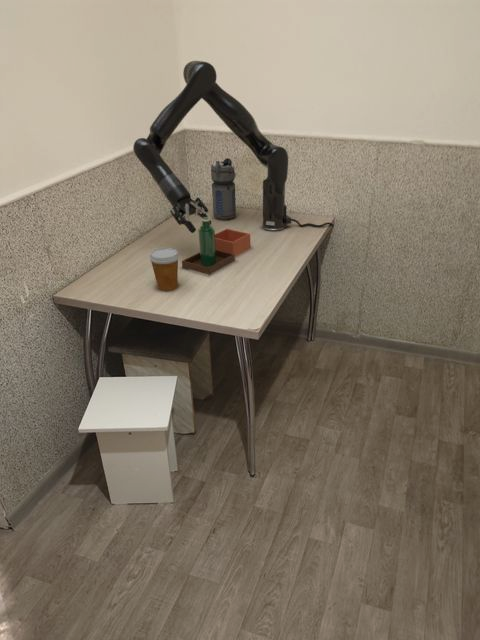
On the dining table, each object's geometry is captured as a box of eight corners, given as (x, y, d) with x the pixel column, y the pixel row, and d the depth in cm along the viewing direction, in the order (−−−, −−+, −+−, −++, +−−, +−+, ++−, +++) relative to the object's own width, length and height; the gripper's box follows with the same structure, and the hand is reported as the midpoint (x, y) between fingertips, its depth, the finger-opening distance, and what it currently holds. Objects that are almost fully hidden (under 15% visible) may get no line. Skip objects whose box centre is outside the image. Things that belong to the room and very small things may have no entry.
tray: (208, 254, 192) (208, 247, 191) (235, 261, 187) (234, 254, 185) (182, 268, 182) (181, 261, 180) (209, 275, 176) (208, 268, 175)
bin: (227, 242, 203) (226, 228, 200) (250, 248, 198) (250, 233, 194) (209, 251, 195) (208, 236, 192) (233, 257, 190) (233, 242, 186)
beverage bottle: (241, 213, 234) (240, 156, 221) (229, 222, 224) (227, 163, 210) (221, 211, 237) (219, 154, 224) (208, 219, 227) (205, 161, 213)
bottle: (213, 259, 187) (210, 215, 178) (218, 264, 183) (216, 219, 174) (198, 261, 185) (195, 217, 176) (203, 267, 181) (200, 222, 172)
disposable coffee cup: (187, 283, 171) (184, 249, 165) (173, 295, 163) (170, 260, 157) (161, 279, 174) (157, 245, 167) (147, 290, 166) (142, 256, 160)
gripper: (165, 188, 169) (194, 228, 170) (192, 179, 180) (220, 216, 180) (155, 201, 175) (183, 240, 176) (182, 192, 185) (209, 228, 186)
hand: (202, 228), depth 178 cm, fingers open, 8 cm apart
